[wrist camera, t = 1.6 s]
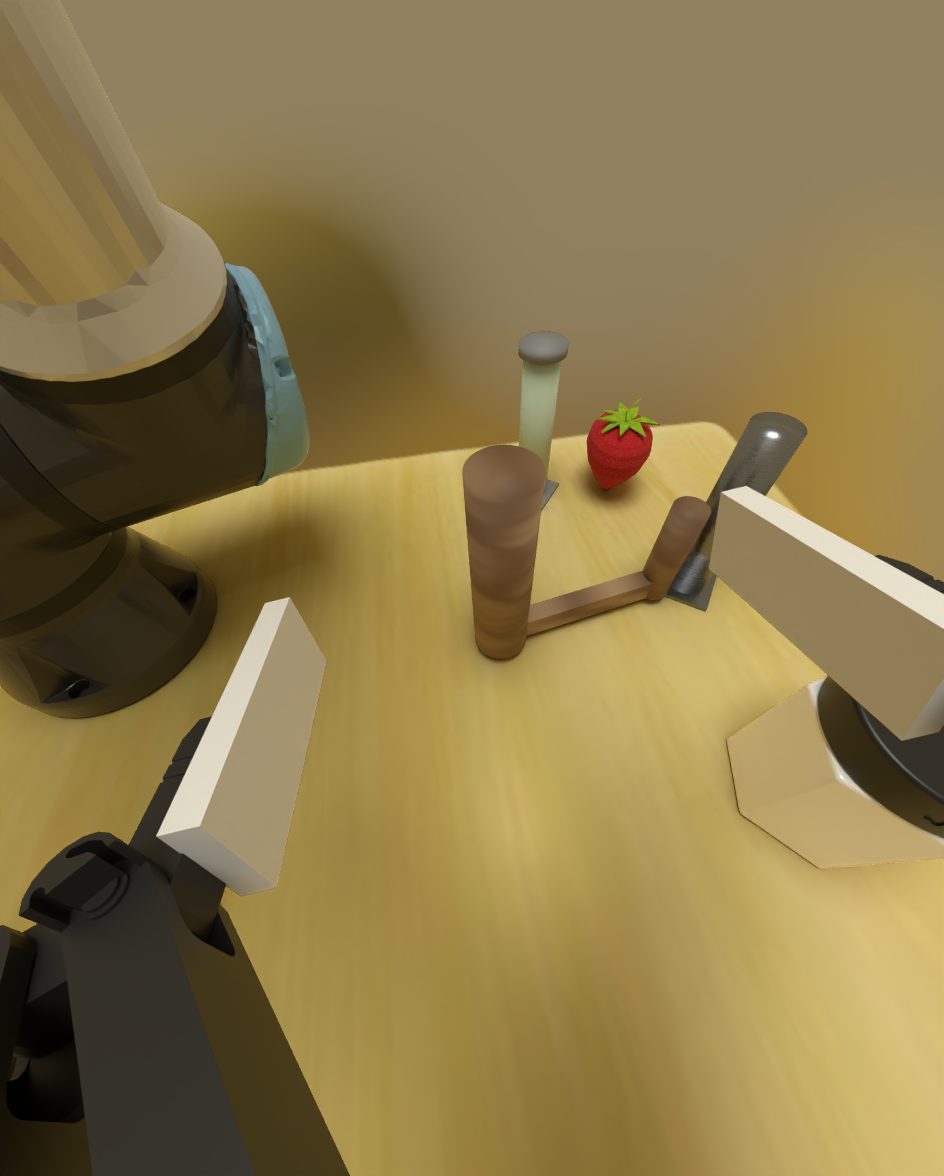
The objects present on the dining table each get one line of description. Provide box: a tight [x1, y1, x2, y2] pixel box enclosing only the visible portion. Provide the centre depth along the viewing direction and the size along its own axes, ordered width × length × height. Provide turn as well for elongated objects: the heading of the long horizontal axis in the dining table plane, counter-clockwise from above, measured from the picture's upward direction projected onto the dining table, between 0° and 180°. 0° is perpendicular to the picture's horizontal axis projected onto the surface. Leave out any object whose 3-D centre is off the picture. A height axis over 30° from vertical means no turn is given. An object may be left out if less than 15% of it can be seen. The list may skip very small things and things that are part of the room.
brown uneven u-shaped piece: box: [463, 445, 711, 659], centre depth 28 cm, size 17×4×16 cm, turn 108°
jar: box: [727, 675, 944, 869], centre depth 22 cm, size 9×8×12 cm
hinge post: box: [665, 412, 807, 611], centre depth 30 cm, size 4×4×15 cm
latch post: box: [519, 331, 569, 511], centre depth 38 cm, size 4×4×15 cm
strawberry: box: [587, 398, 660, 490], centre depth 40 cm, size 6×8×10 cm
